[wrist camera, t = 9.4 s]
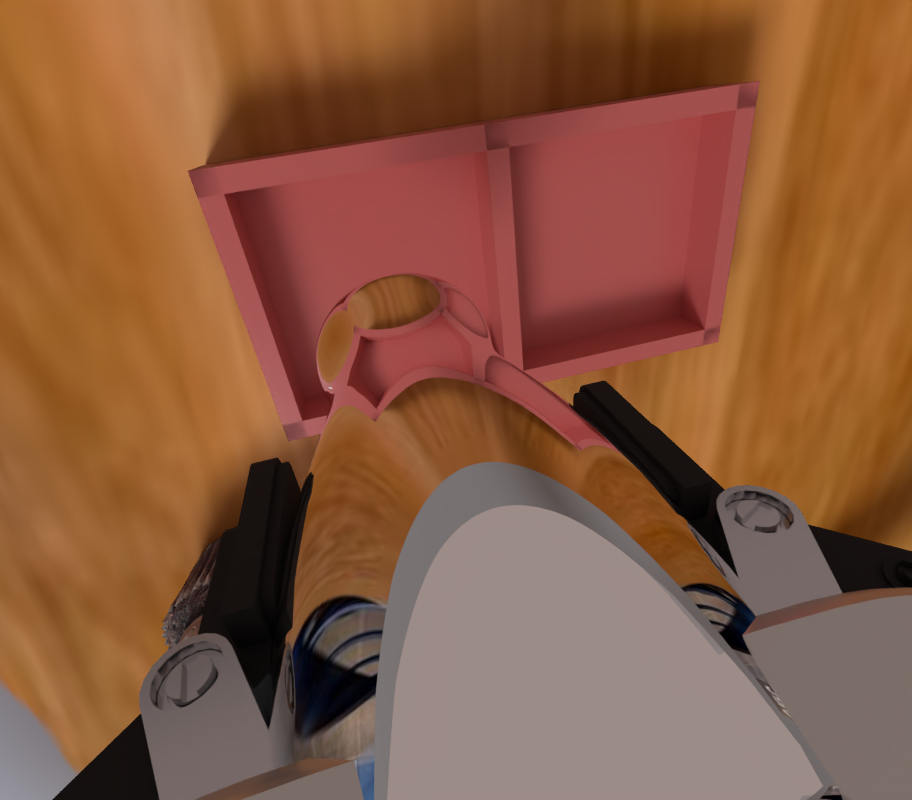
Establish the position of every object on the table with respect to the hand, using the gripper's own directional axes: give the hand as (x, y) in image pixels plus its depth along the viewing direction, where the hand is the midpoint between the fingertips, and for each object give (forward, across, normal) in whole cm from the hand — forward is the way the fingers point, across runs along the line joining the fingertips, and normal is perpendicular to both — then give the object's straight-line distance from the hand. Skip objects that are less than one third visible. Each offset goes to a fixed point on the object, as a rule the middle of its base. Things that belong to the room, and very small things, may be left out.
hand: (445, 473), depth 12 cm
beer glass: (+7, 0, 0) cm, 7 cm away
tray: (+17, -6, 0) cm, 18 cm away
